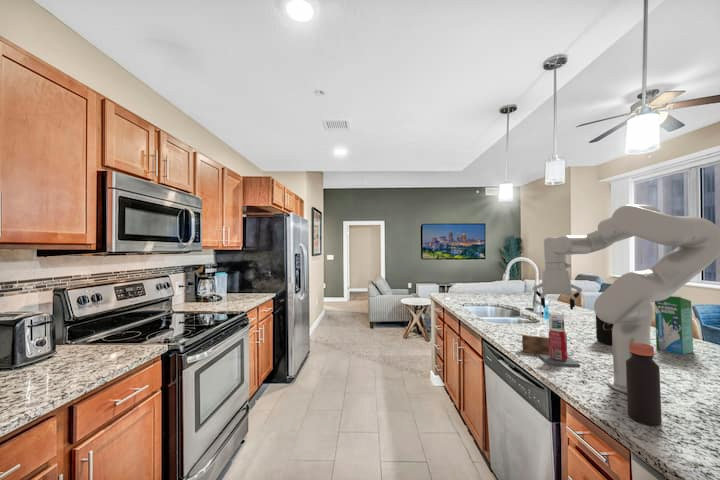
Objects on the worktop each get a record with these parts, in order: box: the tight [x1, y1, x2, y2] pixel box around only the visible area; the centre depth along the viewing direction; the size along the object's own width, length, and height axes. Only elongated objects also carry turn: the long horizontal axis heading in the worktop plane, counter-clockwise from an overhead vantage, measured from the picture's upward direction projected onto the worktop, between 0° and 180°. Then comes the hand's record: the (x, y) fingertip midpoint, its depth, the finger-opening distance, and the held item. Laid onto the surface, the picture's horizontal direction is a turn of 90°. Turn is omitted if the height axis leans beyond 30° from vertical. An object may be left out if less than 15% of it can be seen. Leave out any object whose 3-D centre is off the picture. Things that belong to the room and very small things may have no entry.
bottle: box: [626, 343, 663, 427], centre depth 85 cm, size 7×7×20 cm
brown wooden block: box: [521, 334, 549, 355], centre depth 139 cm, size 14×5×7 cm, turn 61°
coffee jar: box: [595, 314, 614, 347], centre depth 152 cm, size 11×11×18 cm
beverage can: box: [548, 328, 568, 361], centre depth 128 cm, size 6×6×12 cm
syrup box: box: [548, 311, 565, 332], centre depth 154 cm, size 6×6×14 cm
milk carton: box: [654, 294, 694, 355], centre depth 141 cm, size 9×9×25 cm
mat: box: [537, 354, 581, 368], centre depth 128 cm, size 11×11×1 cm
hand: (557, 308), depth 128 cm, fingers open, 9 cm apart
